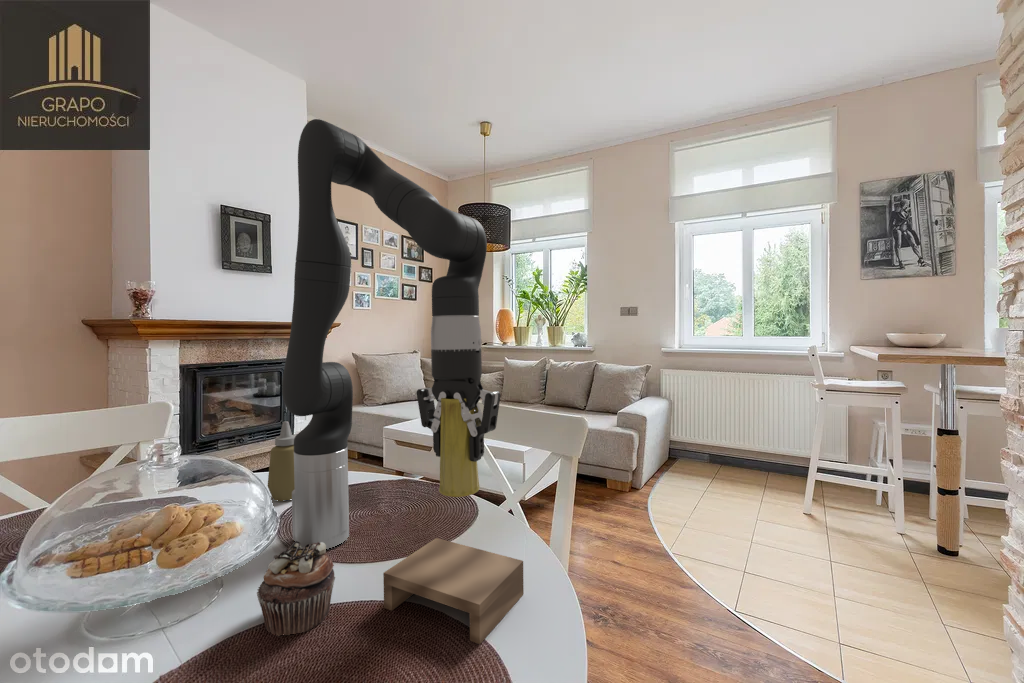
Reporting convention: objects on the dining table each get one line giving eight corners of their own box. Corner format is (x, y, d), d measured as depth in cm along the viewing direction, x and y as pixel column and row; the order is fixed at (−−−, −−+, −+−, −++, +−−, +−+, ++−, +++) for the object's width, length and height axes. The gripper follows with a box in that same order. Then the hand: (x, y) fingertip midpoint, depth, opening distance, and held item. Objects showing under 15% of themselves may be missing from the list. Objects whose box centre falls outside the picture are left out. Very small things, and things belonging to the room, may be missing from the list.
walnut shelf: (383, 607, 64) (383, 572, 63) (436, 568, 74) (436, 537, 74) (479, 644, 56) (479, 604, 56) (523, 594, 67) (523, 560, 66)
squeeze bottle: (259, 503, 103) (257, 424, 102) (283, 490, 111) (281, 418, 110) (291, 505, 102) (290, 425, 101) (313, 492, 110) (311, 418, 109)
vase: (473, 498, 65) (471, 399, 65) (433, 496, 66) (431, 399, 66) (483, 484, 71) (482, 394, 71) (446, 482, 72) (444, 393, 72)
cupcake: (341, 593, 67) (340, 526, 67) (326, 636, 58) (325, 559, 57) (272, 600, 66) (271, 532, 65) (245, 646, 56) (243, 566, 56)
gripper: (402, 347, 68) (404, 459, 68) (484, 347, 61) (487, 470, 62) (432, 345, 74) (434, 447, 75) (510, 345, 68) (512, 457, 68)
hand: (458, 457), depth 68 cm, fingers closed on vase, 5 cm apart
